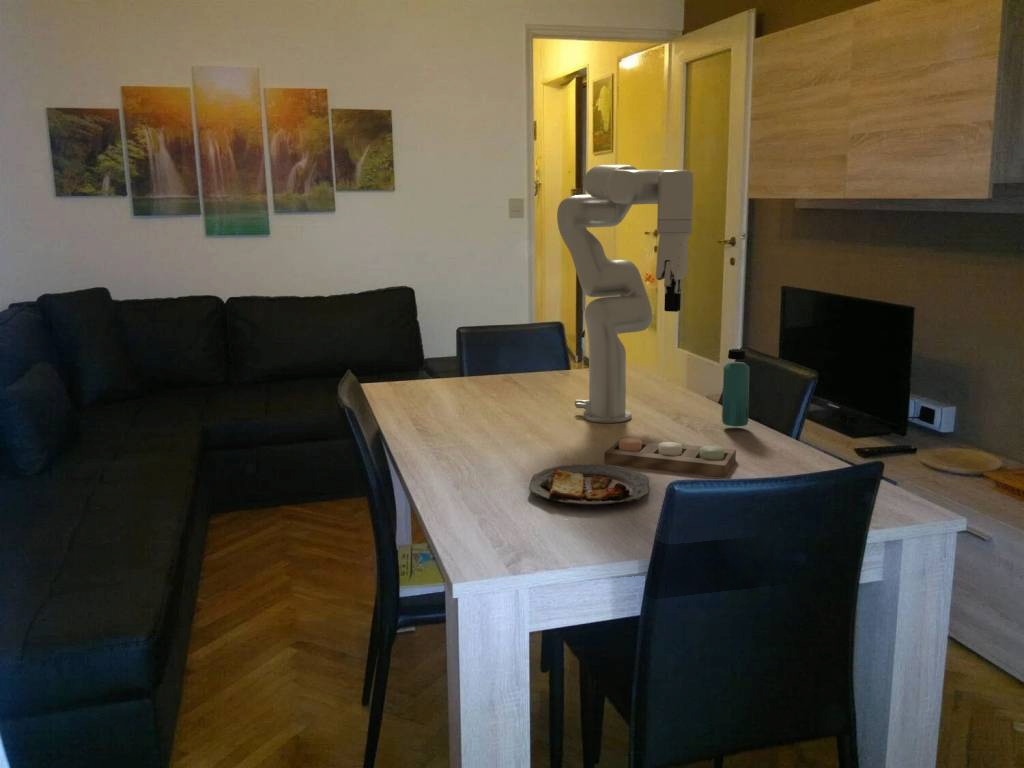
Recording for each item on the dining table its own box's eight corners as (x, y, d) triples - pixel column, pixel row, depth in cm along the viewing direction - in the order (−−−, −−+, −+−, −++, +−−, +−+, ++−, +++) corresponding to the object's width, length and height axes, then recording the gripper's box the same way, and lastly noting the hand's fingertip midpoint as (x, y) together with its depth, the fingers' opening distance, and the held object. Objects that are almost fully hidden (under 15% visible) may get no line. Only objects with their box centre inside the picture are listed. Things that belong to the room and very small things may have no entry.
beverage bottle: (749, 433, 209) (752, 352, 204) (721, 432, 210) (723, 351, 206) (747, 426, 215) (750, 347, 211) (720, 425, 216) (722, 346, 212)
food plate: (647, 516, 156) (647, 497, 155) (521, 512, 160) (520, 493, 159) (650, 476, 180) (650, 460, 180) (540, 473, 184) (540, 457, 184)
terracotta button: (615, 458, 190) (616, 442, 189) (622, 452, 194) (622, 437, 193) (637, 460, 188) (638, 445, 187) (644, 454, 192) (644, 439, 191)
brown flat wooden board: (604, 463, 187) (604, 452, 187) (621, 448, 198) (621, 438, 197) (724, 477, 177) (725, 465, 176) (735, 460, 187) (735, 449, 187)
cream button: (655, 462, 186) (656, 447, 185) (661, 456, 190) (662, 441, 190) (678, 465, 184) (678, 449, 183) (684, 458, 188) (684, 443, 188)
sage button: (697, 467, 182) (697, 451, 182) (702, 460, 187) (702, 445, 186) (720, 469, 180) (721, 453, 179) (725, 462, 185) (726, 447, 184)
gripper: (666, 226, 196) (664, 306, 200) (648, 229, 183) (646, 314, 187) (699, 226, 193) (696, 307, 197) (683, 229, 180) (680, 316, 184)
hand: (672, 310), depth 192 cm, fingers closed
